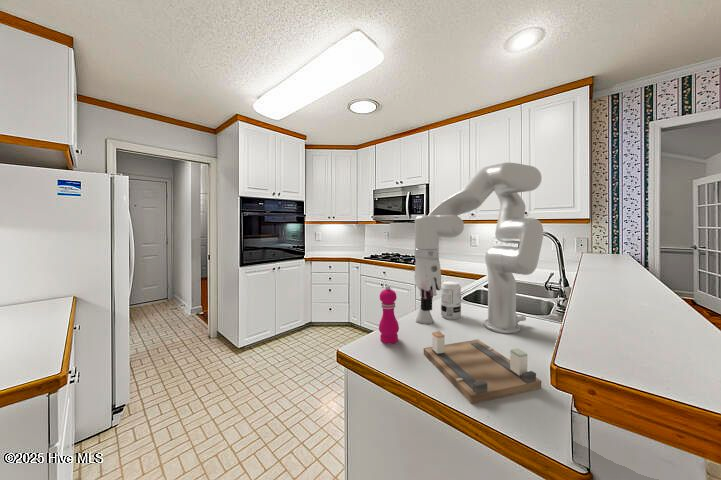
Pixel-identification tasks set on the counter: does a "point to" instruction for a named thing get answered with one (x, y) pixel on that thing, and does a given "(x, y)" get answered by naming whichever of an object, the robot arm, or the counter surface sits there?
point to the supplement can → (450, 299)
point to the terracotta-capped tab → (438, 342)
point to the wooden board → (480, 371)
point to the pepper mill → (388, 317)
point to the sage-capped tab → (518, 361)
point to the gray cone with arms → (424, 316)
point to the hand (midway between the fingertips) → (426, 309)
